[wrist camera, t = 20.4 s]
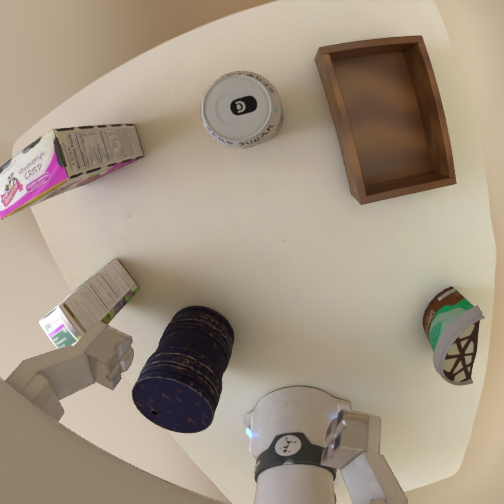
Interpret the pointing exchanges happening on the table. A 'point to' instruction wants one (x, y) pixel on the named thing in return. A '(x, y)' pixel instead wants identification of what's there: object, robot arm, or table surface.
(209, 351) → the blue barrel
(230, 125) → the energy drink can
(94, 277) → the syrup box
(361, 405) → the table surface
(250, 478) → the table surface
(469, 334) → the food container
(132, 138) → the candy bar box
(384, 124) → the wooden tray
